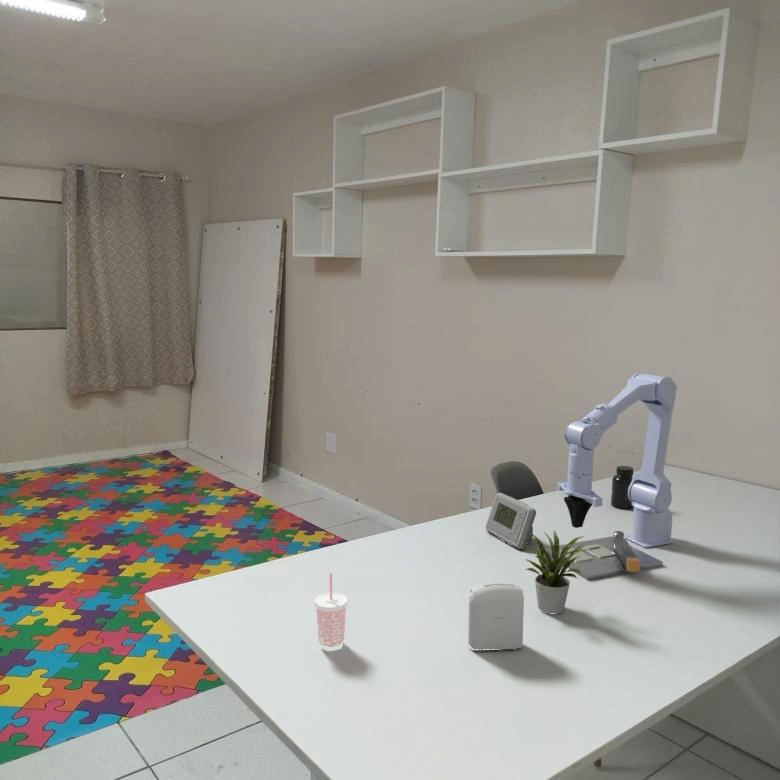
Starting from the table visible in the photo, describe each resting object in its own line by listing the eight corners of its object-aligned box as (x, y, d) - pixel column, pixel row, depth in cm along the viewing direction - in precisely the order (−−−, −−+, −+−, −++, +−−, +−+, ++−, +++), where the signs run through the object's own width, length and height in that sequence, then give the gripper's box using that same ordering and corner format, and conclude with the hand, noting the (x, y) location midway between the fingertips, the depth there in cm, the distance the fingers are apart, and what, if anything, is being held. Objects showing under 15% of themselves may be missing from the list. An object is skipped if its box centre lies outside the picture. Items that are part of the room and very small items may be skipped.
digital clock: (483, 530, 193) (484, 492, 191) (513, 527, 195) (515, 490, 194) (507, 552, 178) (509, 511, 176) (540, 549, 180) (542, 509, 178)
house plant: (600, 604, 150) (605, 530, 147) (582, 632, 138) (587, 552, 135) (535, 588, 157) (538, 518, 154) (512, 614, 145) (515, 537, 143)
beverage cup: (318, 655, 129) (317, 582, 126) (312, 639, 134) (311, 569, 132) (351, 651, 130) (351, 579, 128) (343, 635, 136) (343, 565, 134)
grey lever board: (611, 540, 186) (612, 521, 186) (662, 565, 170) (663, 545, 169) (541, 552, 178) (542, 533, 177) (588, 580, 162) (589, 559, 161)
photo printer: (470, 653, 130) (472, 590, 128) (465, 641, 134) (467, 580, 132) (525, 651, 131) (528, 588, 129) (518, 639, 135) (521, 578, 133)
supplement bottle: (605, 504, 216) (608, 465, 214) (623, 501, 219) (625, 463, 217) (621, 511, 210) (624, 471, 208) (639, 508, 212) (642, 469, 211)
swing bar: (614, 548, 176) (615, 538, 176) (625, 548, 176) (625, 538, 176) (627, 571, 162) (628, 560, 162) (639, 572, 162) (640, 561, 162)
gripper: (548, 466, 175) (545, 519, 177) (586, 482, 162) (583, 538, 164) (571, 463, 178) (568, 515, 180) (610, 478, 165) (607, 534, 167)
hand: (577, 526), depth 172 cm, fingers closed
